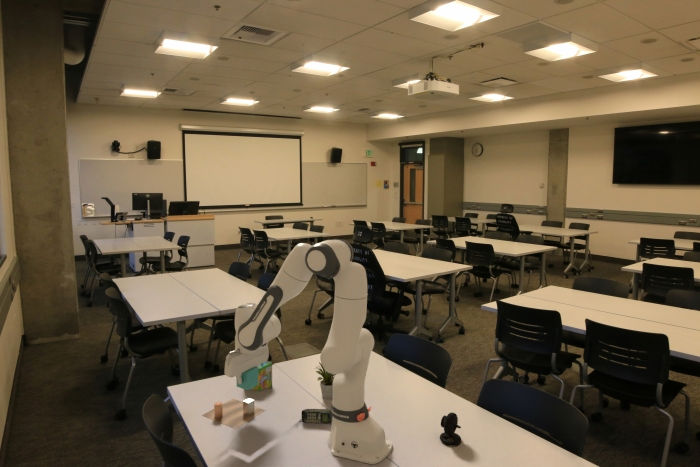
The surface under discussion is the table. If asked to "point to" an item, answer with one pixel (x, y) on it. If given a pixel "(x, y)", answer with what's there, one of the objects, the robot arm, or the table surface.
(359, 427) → the robot arm
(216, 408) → the terracotta peg
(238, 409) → the walnut board
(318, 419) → the mobile phone
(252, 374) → the mint green cube
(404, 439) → the table surface
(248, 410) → the beige wooden block
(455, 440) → the webcam
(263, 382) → the chalk box
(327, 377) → the house plant
